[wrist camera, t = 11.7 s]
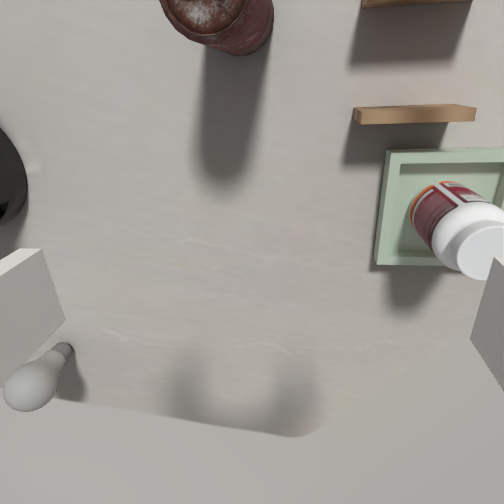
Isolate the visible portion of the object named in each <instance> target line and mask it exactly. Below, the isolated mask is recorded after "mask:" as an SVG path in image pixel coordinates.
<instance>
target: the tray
mask: <svg viewBox="0 0 504 504" xmlns="http://www.w3.org/2000/svg"><path fill="white" fill-rule="evenodd" d="M445 180H447V181H454V182H458V183H460V184H462V185H464V186H466V187H467V188H469V189H470V190H472V191H473V192H475V193H477V194H478V195H480V196H481V197H483V198H485V199H486V200H488V201H489V202H491V203H492V204H494V205H496V206H497V207H499V208H500V209H502V210H503V211H504V147H472V148H423V149H386V157H385V165H384V173H383V181H382V189H381V198H380V206H379V214H378V222H377V230H376V239H375V247H374V255H373V256H374V259H375V261H376V264H377V265H419V266H445V265H444V264H443V263H442V262H440V260H439V259H438V258H437V257H436V256H435V255H434V253H433V252H432V251H431V249H430V248H429V247H428V246H427V244H426V243H425V242H424V241H423V239H422V238H421V237H420V236H419V234H418V233H417V232H416V231H415V229H414V228H413V226H412V225H411V222H410V219H409V208H410V204H411V202H412V200H413V198H414V197H415V196H416V194H417V193H418V192H419V191H420V190H422V189H423V188H424V187H426V186H427V185H429V184H431V183H434V182H438V181H445Z"/></svg>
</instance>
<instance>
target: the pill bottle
mask: <svg viewBox="0 0 504 504" xmlns="http://www.w3.org/2000/svg"><path fill="white" fill-rule="evenodd" d="M409 219H410V222H411V225H412V226H413V228H414V229H415V231H416V232H417V233H418V234H419V236H420V237H421V238H422V239H423V241H424V242H425V243H426V244H427V246H428V247H429V248H430V249H431V251H432V252H433V253H434V255H435V256H436V257H437V258H438V259H439V260H440V262H442V263H443V264H444V265H445V266H447V267H449V268H451V269H453V270H457V271H461V272H462V273H463V274H464V275H466V276H467V277H469V278H471V279H475V280H482V281H485V280H487V278H488V275H489V271H490V268H491V264H492V261H493V257H504V211H503V210H502V209H500V208H499V207H497V206H496V205H494V204H492V203H491V202H489V201H488V200H486V199H485V198H483V197H481V196H480V195H478V194H477V193H475V192H473V191H472V190H470V189H469V188H467V187H466V186H464V185H462V184H460V183H458V182H454V181H447V180H445V181H438V182H434V183H431V184H429V185H427V186H426V187H424V188H423V189H422V190H420V191H419V192H418V193H417V194H416V196H415V197H414V198H413V200H412V202H411V204H410V208H409Z"/></svg>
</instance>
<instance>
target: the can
mask: <svg viewBox="0 0 504 504" xmlns="http://www.w3.org/2000/svg"><path fill="white" fill-rule="evenodd" d="M159 1H160V3H161V6H162V8H163V11H164V13H165V16H166V17H167V18H168V20H169V21H170V22H171V24H172V25H173V26H174V28H175V29H176V30H177V31H178V32H180V33H181V34H182V35H184V36H185V37H187V38H188V39H189V40H192V41H195V42H198V43H200V44H203V45H206V46H209V47H212V48H215V49H217V50H220V51H223V52H226V53H229V54H232V55H236V56H243V55H249V54H251V53H253V52H255V51H257V50H258V49H259V48H260V47H261V46H263V45H264V44H265V42H266V41H267V39H268V37H269V35H270V34H271V30H272V26H273V22H274V7H273V3H272V0H159Z"/></svg>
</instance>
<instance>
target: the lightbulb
mask: <svg viewBox="0 0 504 504" xmlns="http://www.w3.org/2000/svg"><path fill="white" fill-rule="evenodd" d="M71 353H72V349H71V347H70V346H69V345H68V344H67V343H64V342H60V343H57V344H56V345H55V346H54V347H53V348H52V349H51V350H50V351H47V352H46V353H45V354H44V355H43V356H41V357H40V358H38V359H36V360H34V361H32V362H28V363H26V364H23V365H22V366H21V367H20V368H19V369H18V370H17V371H16V372H15V373H14V374H13V375H12V376H11V377H10V378H9V379H8V380H7V381H6V382H5V383H4V385H3V398H4V400H5V402H6V403H7V405H8V406H9V407H11V408H12V409H14V410H17V411H21V412H29V411H34V410H37V409H39V408H41V407H43V406H44V405H46V404H47V403H48V402H49V401H50V400H51V399H52V397H53V396H54V394H55V392H56V390H57V385H58V377H59V374H60V371H61V369H62V368H63V366H64V365H65V363H66V360H67V358H68V357H69V356H70V354H71Z"/></svg>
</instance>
